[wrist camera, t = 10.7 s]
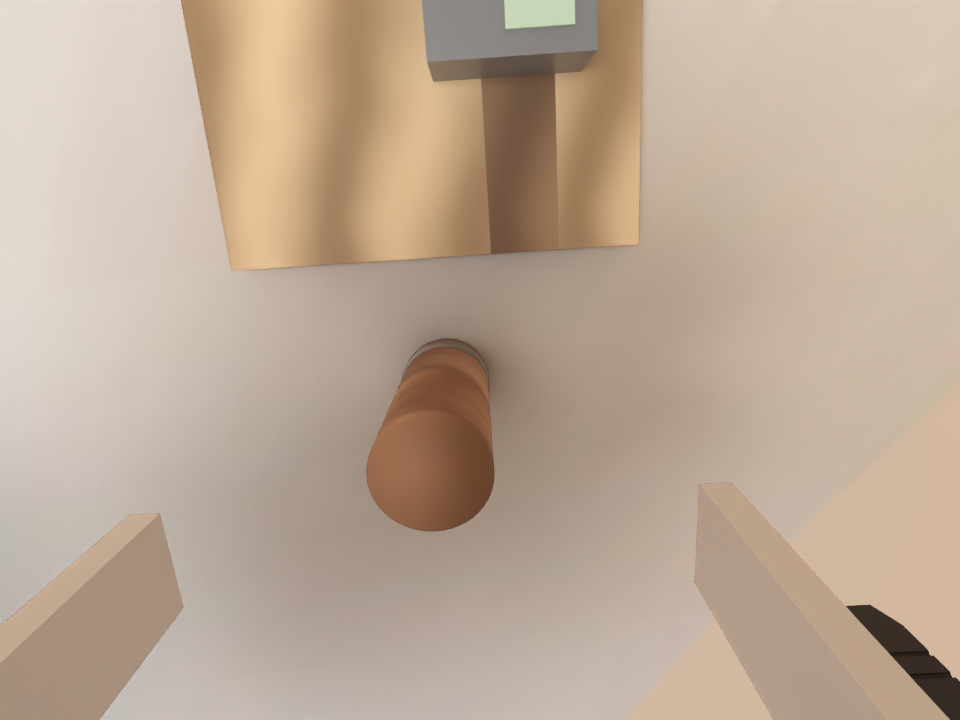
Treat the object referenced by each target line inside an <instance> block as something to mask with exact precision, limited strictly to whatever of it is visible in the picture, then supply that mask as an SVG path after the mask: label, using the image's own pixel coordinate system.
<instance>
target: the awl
mask: <svg viewBox="0 0 960 720" xmlns="http://www.w3.org/2000/svg"><path fill="white" fill-rule="evenodd" d="M366 474H367V483H368V487H369V490H370V493H371V495H372V497H373V499H374V501H375V502H376V504H377V505H378V506H379V508H380V509H381V510H382V511H383V512H384V513H385V514H386V515H387V516H389V517H390V518H391V519H393V520H394V521H396V522H397V523H399V524H401V525H403V526H406V527H409V528H412V529H416V530H421V531H442V530H447V529H452V528H454V527H457V526H460V525H462V524H463V523H465V522H467V521H469V520H470V519H471V518H473V517H474V516H475V515H476V514H477V513H479V511H480V510H481V509H482V508H483V507H484V505H485V504H486V502H487V501H488V499H489V496H490V494H491V491H492V488H493V484H494V461H493V447H492V434H491V421H490V408H489V380H488V373H487V369H486V367H485V365H484V362H483V360H482V359H481V357H480V356H479V355H478V353H477V352H476V351H475V350H474V349H472V348H471V347H470V346H468V345H466V344H465V343H462V342H460V341H456V340H450V339H442V340H436V341H432V342H430V343H428V344H426V345H424V346H423V347H421V348H420V349H419V350H418V351H417V352H416V353H415V354H414V355H413V356H412V357H411V359H410V360H409V362H408V364H407V366H406V368H405V371H404V373H403V376H402V380H401V383H400V385H399V387H398V390H397V392H396V394H395V396H394V399H393V401H392V403H391V406H390V408H389V410H388V413H387V415H386V417H385V420H384V422H383V424H382V427H381V429H380V431H379V433H378V436H377V438H376V440H375V443H374V445H373V447H372V450H371V452H370V455H369V458H368V462H367V470H366Z"/></svg>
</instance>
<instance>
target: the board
mask: <svg viewBox="0 0 960 720" xmlns="http://www.w3.org/2000/svg"><path fill="white" fill-rule="evenodd" d="M181 4H182V9H183V14H184V20H185V25H186V30H187V36H188V41H189V46H190V52H191V57H192V62H193V68H194V73H195V79H196V84H197V89H198V95H199V100H200V105H201V111H202V116H203V121H204V127H205V132H206V137H207V143H208V148H209V153H210V159H211V164H212V170H213V175H214V180H215V186H216V191H217V196H218V202H219V207H220V212H221V218H222V223H223V228H224V234H225V239H226V245H227V250H228V255H229V261H230V266H231V271H235V270H251V269H266V268H282V267H297V266H312V265H328V264H343V263H358V262H374V261H389V260H404V259H420V258H435V257H450V256H466V255H481V254H497V253H512V252H527V251H543V250H558V249H573V248H589V247H604V246H619V245H635V244H639V183H640V120H641V58H642V0H597V51H596V53H595V54H594V55H593V57H592V58H591V59H590V60H589V62H588V63H587V64H586V66H585V67H584V68H583V70H582V71H581V72H568V73H554V74H540V75H525V76H511V77H496V78H482V79H467V80H453V81H439V82H433V80H432V76H431V73H430V70H429V67H428V64H427V57H426V45H425V33H424V20H423V8H422V0H181Z"/></svg>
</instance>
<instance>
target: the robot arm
mask: <svg viewBox="0 0 960 720" xmlns="http://www.w3.org/2000/svg"><path fill="white" fill-rule="evenodd" d="M694 582H695V584H696V586H697V587H698V589H699V591H700V593H701V594H702V596H703V598H704V600H705V601H706V603H707V605H708V607H709V608H710V610H711V612H712V614H713V615H714V617H715V619H716V621H717V622H718V624H719V626H720V628H721V629H722V631H723V632H724V635H725V636H726V638H727V640H728V641H729V643H730V645H731V647H732V649H733V650H734V652H735V654H736V656H737V657H738V659H739V661H740V662H741V664H742V666H743V668H744V669H745V671H746V673H747V675H748V676H749V678H750V680H751V682H752V684H753V685H754V687H755V689H756V691H757V692H758V694H759V696H760V697H761V699H762V701H763V703H764V704H765V706H766V708H767V710H768V711H769V713H770V715H771V717H772V718H773V720H960V681H959V680H958V679H956V678H952V676H951V674H950V671H949V670H947V668H945V666H944V665H942V664H941V663H940V662H939V661H938V660H937V659H936V658H935V657H934V656H930V655H929V651H928V650H927V649H926V648H925V647H924V646H923V645H922V644H921V643H920V642H919V641H918V640H917V639H916V638H915V637H914V636H913V635H912V634H911V633H910V632H909V631H908V630H907V629H906V628H905V627H904V626H903V625H901V624H900V623H898V622H897V621H895V620H893V619H892V618H890V617H889V616H887V615H885V614H884V613H882V612H881V611H879V610H877V609H876V608H874V607H873V606H871V605H856V606H845V605H844V604H843V603H842V602H841V601H840V600H839V599H838V597H837V596H836V595H835V594H834V593H833V592H832V591H831V590H830V589H829V588H828V587H827V585H826V584H825V583H824V582H823V581H822V580H821V579H820V578H819V577H818V576H817V575H816V573H815V572H814V571H813V570H812V569H811V568H810V567H809V566H808V565H807V564H806V563H805V562H804V561H803V559H802V558H801V557H800V556H799V555H798V554H797V553H796V552H795V551H794V550H793V548H792V547H791V546H790V545H789V544H788V543H787V542H786V541H785V540H784V539H783V538H782V536H781V535H780V534H779V533H778V532H777V531H776V530H775V529H774V528H773V527H772V526H771V524H770V523H769V522H768V521H767V520H766V519H765V518H764V517H763V516H762V515H761V514H760V513H759V511H758V510H757V509H756V508H755V507H754V506H753V505H752V504H751V503H750V502H749V501H748V499H747V498H746V497H745V496H744V495H743V494H742V493H741V492H740V491H739V490H738V489H737V487H736V486H735V485H734V484H733V483H732V482H724V483H706V484H699V500H698V519H697V538H696V557H695V576H694ZM183 608H184V607H183V604H182V600H181V596H180V592H179V588H178V584H177V580H176V576H175V572H174V568H173V564H172V560H171V556H170V552H169V548H168V544H167V540H166V537H165V533H164V529H163V525H162V521H161V517H160V513H157V514H139V515H128V516H127V517H126V518H125V519H124V520H123V521H121V522H120V523H119V524H118V525H117V526H116V527H114V528H113V529H112V530H111V531H110V532H109V533H107V534H106V535H105V536H104V537H103V538H102V539H100V540H99V541H98V542H97V543H96V544H95V545H94V546H92V547H91V548H90V549H89V550H88V551H87V552H85V553H84V554H83V555H82V556H81V557H80V558H78V559H77V560H76V561H75V562H74V563H73V564H71V565H70V566H69V567H68V568H67V569H66V570H65V571H63V572H62V573H61V574H60V575H59V576H58V577H56V578H55V579H54V580H53V581H52V582H51V583H49V584H48V585H47V586H46V587H45V588H44V589H43V590H41V591H40V592H39V593H38V594H37V595H36V596H34V597H33V598H32V599H31V600H30V601H29V602H27V603H26V604H25V605H24V606H23V607H22V608H20V609H19V610H18V611H17V612H16V613H15V614H14V615H12V616H11V617H10V618H9V619H8V620H7V621H5V622H4V623H3V624H2V625H1V626H0V720H99V719H100V718H101V717H102V715H103V714H104V713H105V711H106V710H107V709H108V707H109V706H110V705H111V703H112V702H113V701H114V699H115V698H116V697H117V695H118V694H119V693H120V691H121V690H122V689H123V688H124V686H125V685H126V684H127V682H128V681H129V680H130V678H131V677H132V676H133V674H134V673H135V672H136V670H137V669H138V668H139V666H140V665H141V664H142V662H143V661H144V660H145V658H146V657H147V656H148V654H149V653H150V652H151V650H152V649H153V648H154V646H155V645H156V644H157V642H158V641H159V640H160V638H161V637H162V636H163V634H164V633H165V632H166V630H167V629H168V628H169V626H170V625H171V624H172V622H173V621H174V620H175V618H176V617H177V616H178V614H179V613H180V612H181V610H182V609H183Z"/></svg>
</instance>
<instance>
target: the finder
mask: <svg viewBox="0 0 960 720" xmlns="http://www.w3.org/2000/svg"><path fill="white" fill-rule="evenodd" d="M422 8H423V20H424V33H425V45H426V57H427V64H428V67H429V70H430V73H431V76H432V80H433V82H439V81H453V80H467V79H482V78H496V77H511V76H525V75H540V74H554V73H568V72H581V71H582V70H583V68H584V67H585V66H586V64H587V63H588V62H589V60H590V59H591V58H592V57H593V55H594V54H595V53H596V51H597V0H422Z"/></svg>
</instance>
